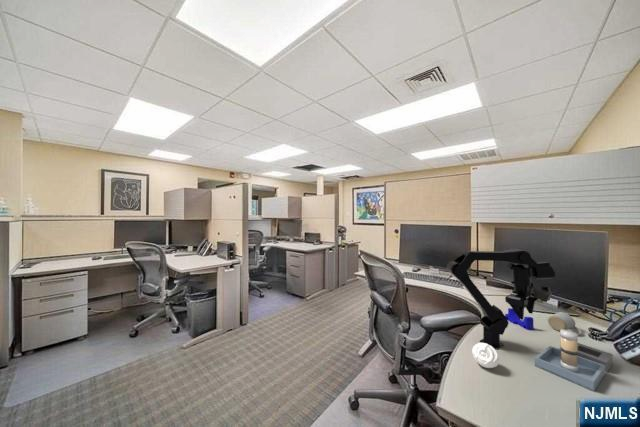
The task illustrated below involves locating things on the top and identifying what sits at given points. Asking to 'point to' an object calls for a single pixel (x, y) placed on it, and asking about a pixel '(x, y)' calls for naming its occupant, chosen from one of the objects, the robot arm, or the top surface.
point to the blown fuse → (569, 350)
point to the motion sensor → (485, 355)
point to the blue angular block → (514, 319)
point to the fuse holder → (595, 355)
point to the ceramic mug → (563, 322)
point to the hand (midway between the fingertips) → (526, 316)
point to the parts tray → (585, 377)
